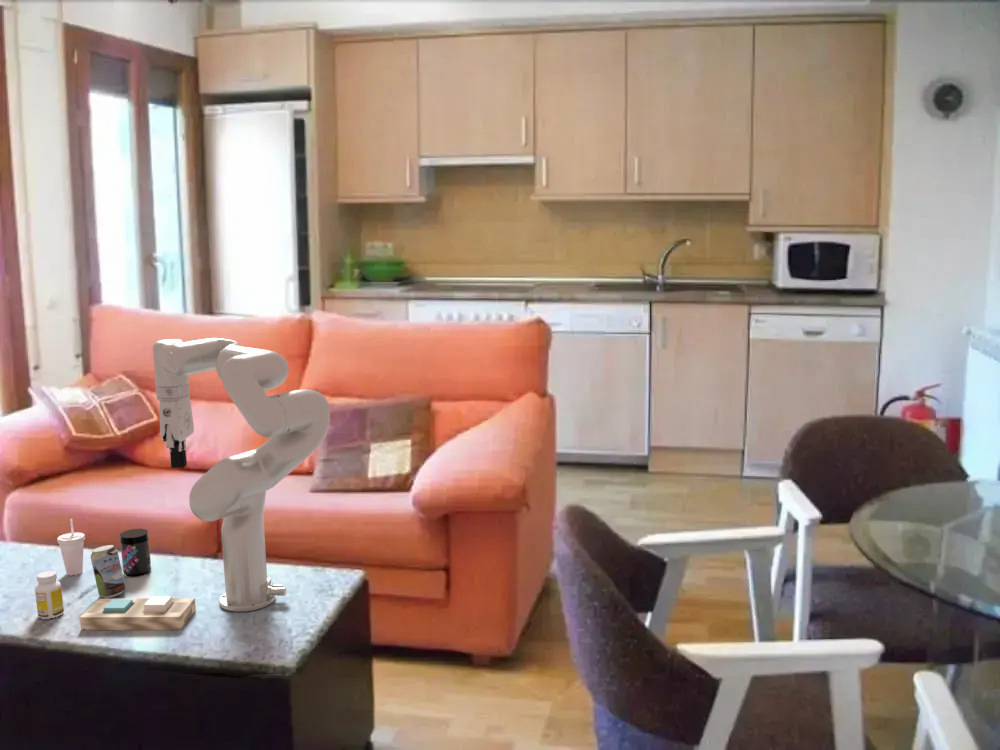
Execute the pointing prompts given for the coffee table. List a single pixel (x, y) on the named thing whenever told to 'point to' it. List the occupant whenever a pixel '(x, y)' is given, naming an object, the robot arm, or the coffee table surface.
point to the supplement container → (135, 552)
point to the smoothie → (72, 551)
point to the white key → (158, 604)
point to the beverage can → (107, 571)
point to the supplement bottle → (48, 595)
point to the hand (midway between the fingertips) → (179, 466)
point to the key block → (138, 616)
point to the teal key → (118, 606)
